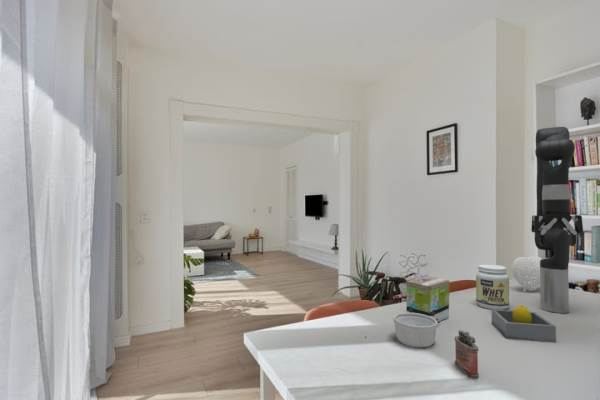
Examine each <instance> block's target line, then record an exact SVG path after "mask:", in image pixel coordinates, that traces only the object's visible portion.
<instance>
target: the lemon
mask: <svg viewBox="0 0 600 400" xmlns="http://www.w3.org/2000/svg"><path fill="white" fill-rule="evenodd" d="M512 311H513V314H512V317H513V321H514V323H528V324H531V322H532V316H531V313H530V312H531V310H529V309H528V308H527V307H525V306H524V305H519V306H517V307H514V308H513V310H512Z"/></svg>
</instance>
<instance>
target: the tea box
mask: <svg viewBox="0 0 600 400" xmlns="http://www.w3.org/2000/svg"><path fill="white" fill-rule="evenodd" d="M405 313H418V314H423V315H427V316H430V317H432V318H434V319H435V320H436V321H437V323H439V322H441V321H444V320H446V319H448V318H450V279H445V278H444V279H443V278H439V277H434V276H433V277H432V276H422V277H418V278H415V279H412V280H408V281H406V311H405Z"/></svg>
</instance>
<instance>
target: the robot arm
mask: <svg viewBox="0 0 600 400" xmlns="http://www.w3.org/2000/svg"><path fill="white" fill-rule="evenodd" d="M575 149H576V147H575V143H574V141H573V140H571V139H570V131H569V129H568V128H567V127H565V126H555V127H553V126H552V127H547V128H545V127H544V128H539V129H538V130H536V133H535V151H534V152H535V156H536V214H535V215H532V216H531V230H530V231H531V232H532V233H534V244H535V246H536V248H537V249H539V250H542V251H548V252H553V256H551V257H548V258H542V260H540V274H539V275H540V285H539V287H540V289H539V290H540V293H539V294H540V295H539V296H540V308H541V310H544V311H546V312H552V313H559V314H567V313H569V312H570V305H569V304H570V294H569V293H570V292H569V291H570V288H569V285H570V284H569V264H570V253H571V252H570V250H571V249H570V248H571V247H575V245H577V235H579V234H583V233H584V227H583V226H584V225H583V216H582V215H580V214H574V215H571V191H570V183H569V182H570V181H569V176H570V175H569V171H570V170H569V169H570V166H571V162H572V159H573V155H574V153H575ZM556 161H560V163H559V164H558V165H557V166H553V165H552V163H551V162H556ZM571 220H572V222H573V225H574V227H573V225H572V224H570V222H571Z"/></svg>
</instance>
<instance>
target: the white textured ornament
mask: <svg viewBox="0 0 600 400" xmlns="http://www.w3.org/2000/svg"><path fill="white" fill-rule="evenodd" d="M542 259H543V258H542V257H540V256H537V255H532V256H528V257H525V256H520V257H519V256H518V257H517V258H516V259H515V260H513V263H512V266H511V269H512V274H513V277H514V278H515V280H516V282H518V284H519V285H520V286H521V287H523V293H526V292H528V291H529V292H532V291H537V288H539V287H540V260H542Z"/></svg>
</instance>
